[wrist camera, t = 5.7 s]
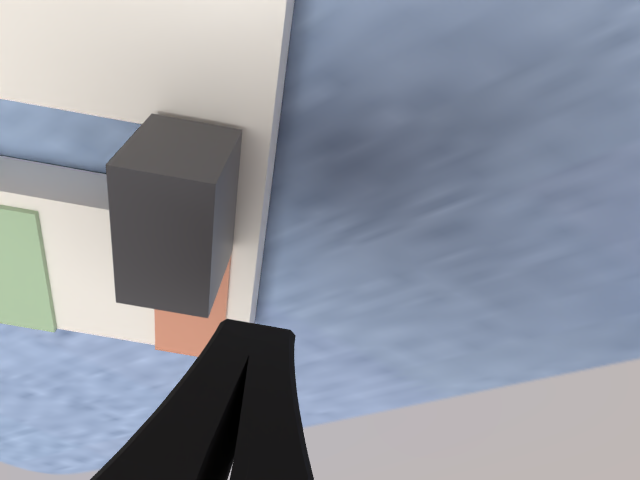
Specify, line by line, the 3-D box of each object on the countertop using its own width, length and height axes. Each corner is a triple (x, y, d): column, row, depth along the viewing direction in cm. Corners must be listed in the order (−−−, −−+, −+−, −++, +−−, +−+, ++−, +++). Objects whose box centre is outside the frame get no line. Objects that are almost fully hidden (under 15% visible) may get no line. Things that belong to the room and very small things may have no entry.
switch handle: (254, 105, 16) (215, 184, 12) (243, 219, 18) (207, 318, 14) (172, 90, 16) (106, 164, 12) (171, 207, 18) (115, 302, 14)
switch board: (305, -90, 13) (295, -84, 12) (254, 322, 21) (243, 364, 20) (-188, -185, 13) (-277, -193, 11) (-53, 269, 21) (-93, 307, 19)
